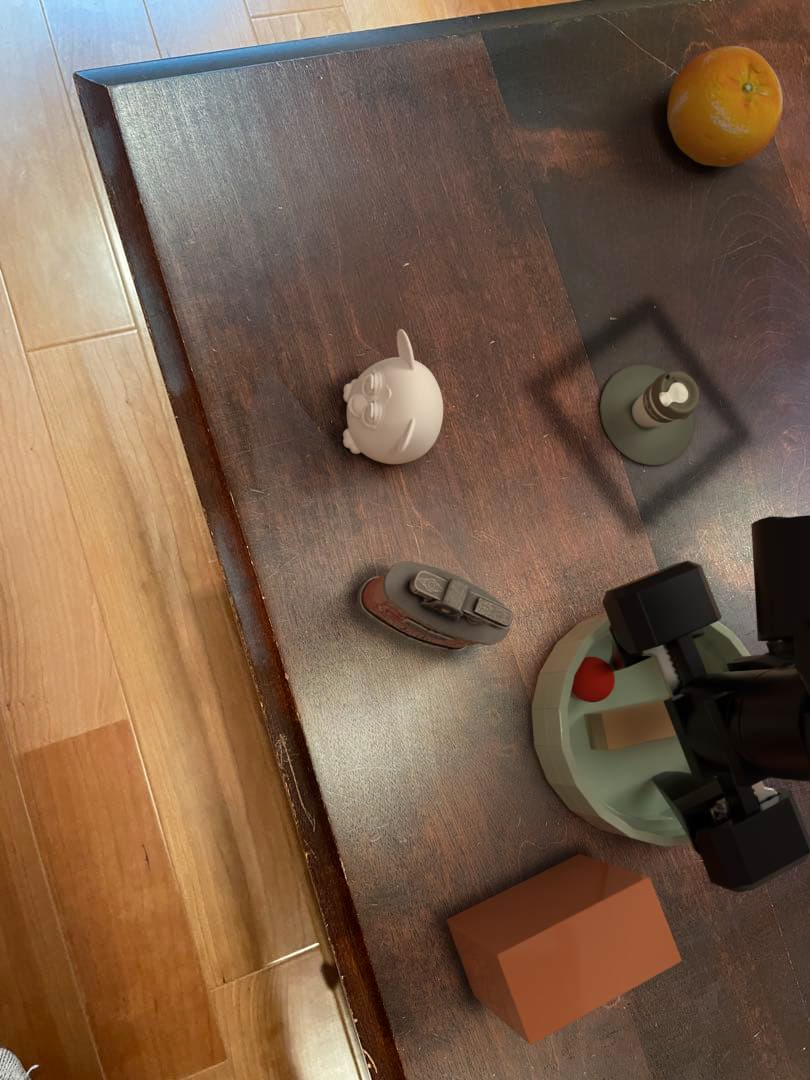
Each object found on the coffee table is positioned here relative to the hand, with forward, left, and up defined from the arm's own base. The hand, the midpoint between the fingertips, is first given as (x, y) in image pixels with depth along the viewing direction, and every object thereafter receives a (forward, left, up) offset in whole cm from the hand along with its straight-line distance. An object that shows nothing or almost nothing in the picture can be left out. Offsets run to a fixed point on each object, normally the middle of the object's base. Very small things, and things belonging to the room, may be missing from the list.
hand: (636, 720), depth 63 cm
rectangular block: (-9, +12, -1) cm, 15 cm away
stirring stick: (0, 0, 0) cm, 0 cm away
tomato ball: (+4, +3, +1) cm, 5 cm away
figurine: (+25, +9, -1) cm, 27 cm away
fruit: (+40, -24, -1) cm, 47 cm away
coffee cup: (+20, -10, -1) cm, 22 cm away
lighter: (+12, +12, -1) cm, 17 cm away
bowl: (0, 0, -1) cm, 1 cm away
